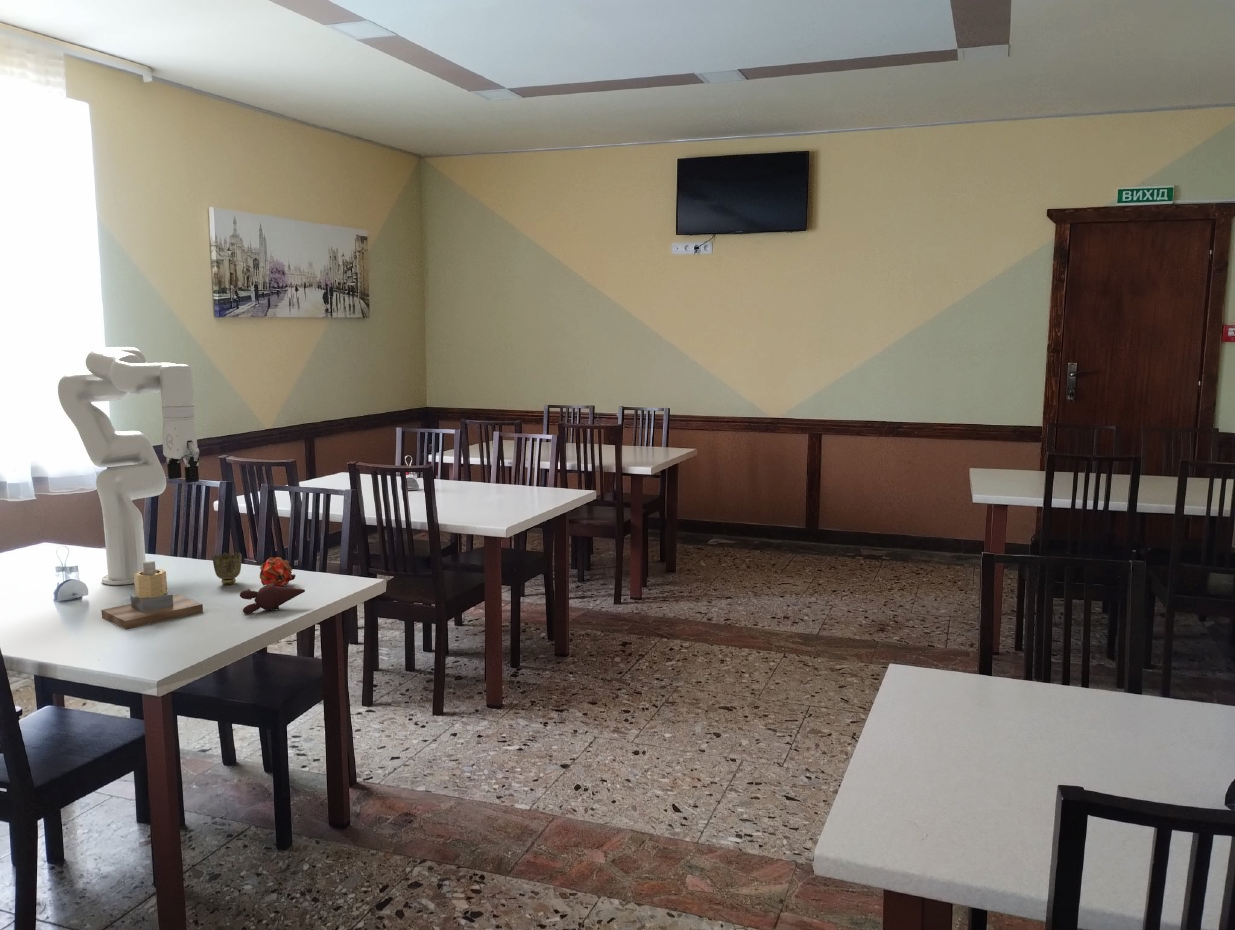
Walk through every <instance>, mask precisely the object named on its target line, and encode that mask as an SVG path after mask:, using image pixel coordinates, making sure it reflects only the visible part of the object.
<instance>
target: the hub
mask: <svg viewBox="0 0 1235 930" xmlns="http://www.w3.org/2000/svg"><path fill="white" fill-rule="evenodd" d="M155 569H156V568H155ZM167 581H168V580H167V570H164V569H160V568H157V569H156V574H152V575H144V571H139V572H137V573H135V574H134V583H133V584H134V595H135V597H137V598H140V599H146V598H156V597H161V596H164V595H165V594H167V593H169V592H168V584H167V583H168V582H167Z"/></svg>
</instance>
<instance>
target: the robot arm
mask: <svg viewBox="0 0 1235 930" xmlns="http://www.w3.org/2000/svg"><path fill="white" fill-rule="evenodd" d="M85 366H86V369H87V370H86V371H85V370H84V371H76V372H70V373H67V374H66V375H63V376H62V377H60V380H59V381H58V384H57V395H58V400H59V403H60V406H61V408H62V410H63V411H64V413H65V415H67V417H68V418H69V420H70V421H71V422H72V424H73V425H74V426H75V428H76V430H77V432H78V434H79V437H80V439H81V441H82V443H83V446H84V449H85V450H86V453H87V455H88V457H89V459H90V461H91V462H92V464H93V465H95V466H96V467H98V468H105V469H103V470H102V471H101V472H99V473H98V475H97V476H96V480H95V486H96V491H97V493H98V497H99V500H100V501H99V502H100V505H101V513H102V521H103V531H104V541H105V555H106V567H107V568H106V569H107V575H104V576H103V577H102V578H101V583H103V584H104V585H109V586H110V585H111V586H119V585H121V586H122V585H133V584H134V574H135V573H137V572H139V571H143V562H147V561H146V548H145V535H144V522H143V515H142V512H141V510H139V508H138V507H137V506H136V505H135V503H134V502H133V501H134V500H138V499H145V498H151V497H155V496H156V497H157V496H159V495H161V494H163V493H164V492H165V490H166V489H167V488H166V487H167V479H169V480H174V479H181V478H182V465H181V462H180V459H182V460H183V462H184V465H185V466H184V467H183V468H184V478H185V479H184V480H185V483H188V484H189V483H197V482H199V481H200V476H199V475H200V473H199V460H200V458H199V456H200V449H199V448H198V438H197V432H196V431H197V430H196V424H195V421H194V419H196V410H195V409H196V408H195V394H194V379H193V369H192V367H191V366H190V365H188V364H184V363H177V364H176V363H172V362H150V363H149V362H147V359H146V357H145V354H143V352H142V351H141V350H139V349H138V348H136V347H130V346H125V347H124V346H122V347H121V346H115V347H113V346H111V347H106V346H105V347H99V348H95V349H93V350H92V351H90V352H89V353H88V354H87V356H86V358H85ZM152 393H154V394H155V393H158V394H160V398H161V399H160V400H161V401H160V402H161V412H162V420H163V421H162V453H163V456H164V457H166V459H165V460H166V465H167V467H166V469H167V477H168V478H166V474H165V471H164V468H163V465H162V464H161V462H160V459H159V458H158V457H159V456H158V455H157V453H156V452H155V449H154V446H153V445H152V442H151V441H150V439H149V437H147V435H146V434H144V433H143V432H140V431H139V430H127V431H126V430H125V431H118V430H116V429H115V428H114V426H113V423H112V421H111V419H110V417H109V416H108V415H107V414H106V413H105V412H104V411H102V409H100V408H99V407H97V406H96V405H93V404H92V403H94V402H95V403H97V402H112V401H121V400H123V399H126V398H127V397H128V396H130V394H137V395H139V394H152Z"/></svg>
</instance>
